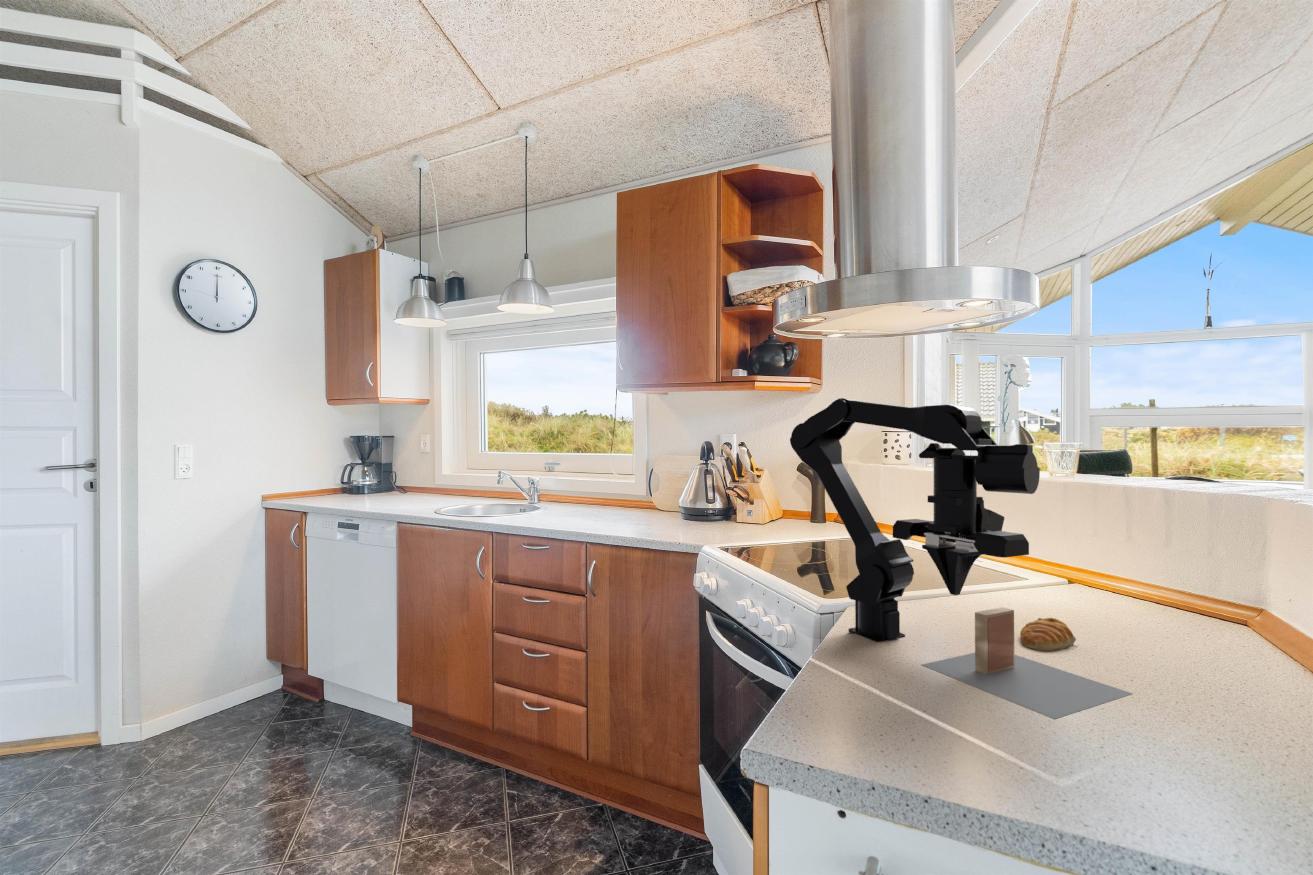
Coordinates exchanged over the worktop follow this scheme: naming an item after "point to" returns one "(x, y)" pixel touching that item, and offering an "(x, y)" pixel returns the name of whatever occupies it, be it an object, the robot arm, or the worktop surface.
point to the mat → (1032, 685)
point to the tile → (994, 640)
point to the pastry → (1047, 634)
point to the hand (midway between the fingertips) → (954, 594)
